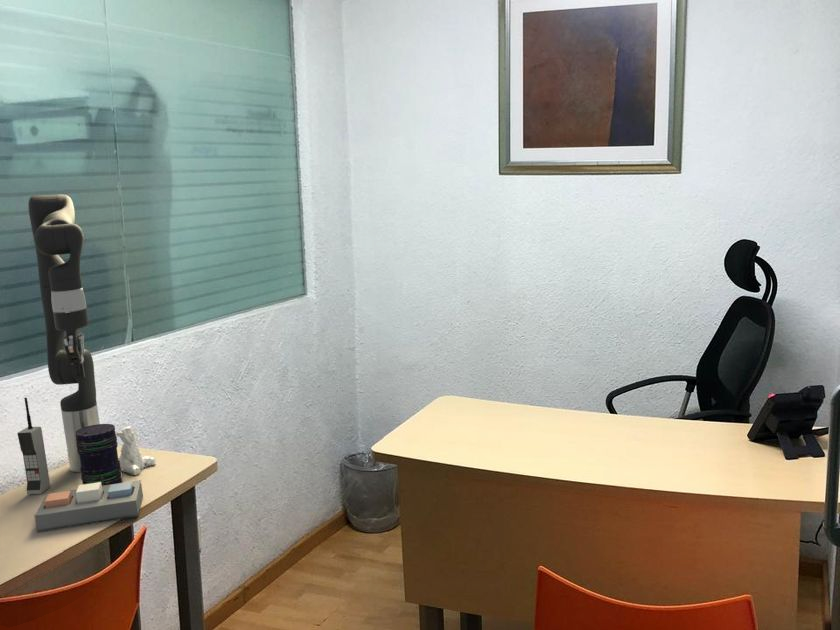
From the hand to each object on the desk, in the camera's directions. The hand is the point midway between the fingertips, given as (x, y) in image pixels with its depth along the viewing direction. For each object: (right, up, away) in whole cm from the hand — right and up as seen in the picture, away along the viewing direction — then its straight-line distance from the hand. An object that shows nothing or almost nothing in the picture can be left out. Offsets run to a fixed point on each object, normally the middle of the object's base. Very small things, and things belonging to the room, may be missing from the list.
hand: (79, 378), depth 204 cm
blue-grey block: (+11, -29, -2) cm, 31 cm away
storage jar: (0, -29, +16) cm, 33 cm away
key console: (+4, -32, -3) cm, 32 cm away
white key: (+4, -29, -4) cm, 29 cm away
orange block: (-3, -31, -5) cm, 31 cm away
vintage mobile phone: (-16, -30, +14) cm, 37 cm away
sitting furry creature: (+4, -27, +26) cm, 38 cm away
